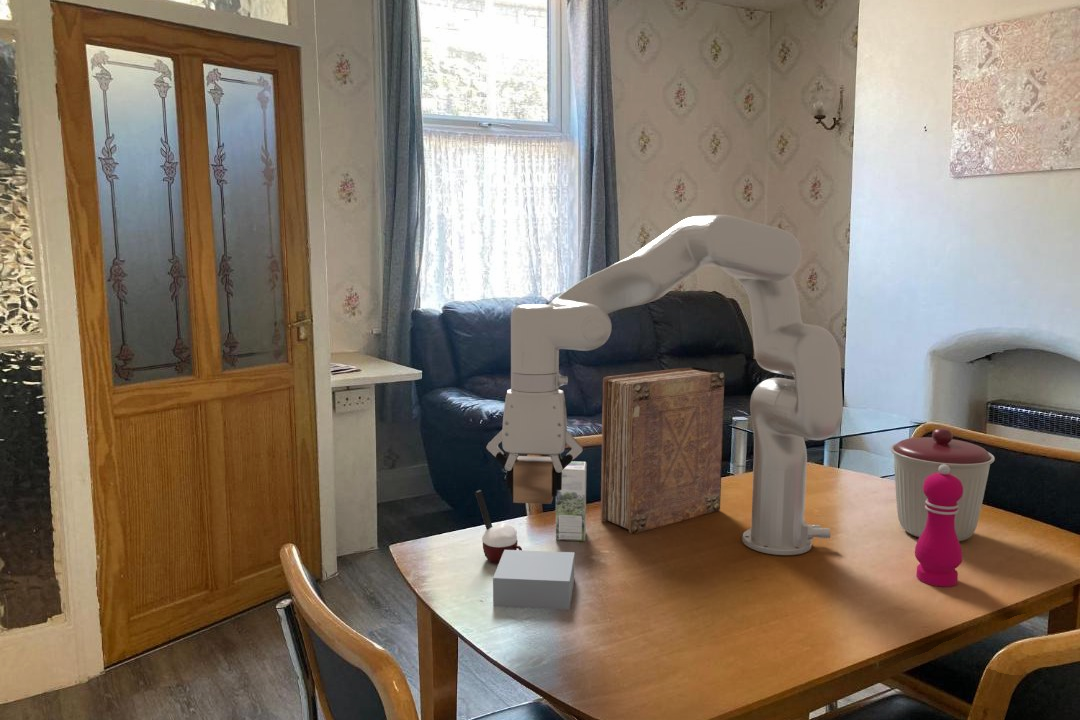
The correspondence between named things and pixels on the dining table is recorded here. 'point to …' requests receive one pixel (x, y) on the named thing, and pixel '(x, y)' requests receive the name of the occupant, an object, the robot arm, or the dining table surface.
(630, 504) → the book
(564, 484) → the syrup box
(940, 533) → the pepper mill
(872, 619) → the dining table surface
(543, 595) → the grey block
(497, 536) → the cocoa
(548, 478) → the walnut cube
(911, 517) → the canister
